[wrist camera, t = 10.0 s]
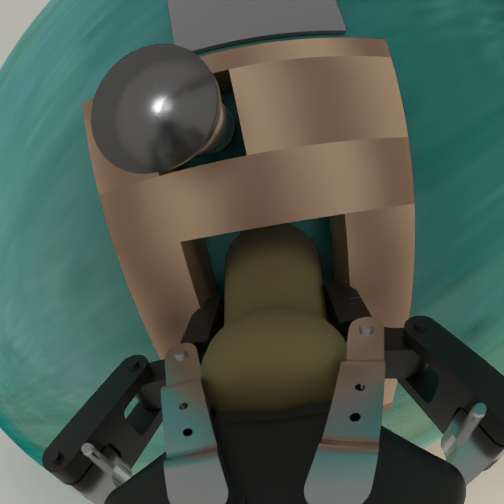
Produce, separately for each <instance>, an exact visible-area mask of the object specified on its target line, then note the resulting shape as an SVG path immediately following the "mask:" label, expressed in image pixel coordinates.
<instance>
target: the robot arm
mask: <svg viewBox="0 0 504 504" xmlns="http://www.w3.org/2000/svg"><path fill="white" fill-rule="evenodd" d="M322 285H323V291H324V296H325V306H326V315H327V322H329V323H330V324H331V325H332V326H333V327H335V328H336V329H337V331H338V332H339V333H340V334H341V335H342V336H343V338H344V340H345V342H346V346H347V359H342V360H341V364H340V369H339V374H338V378H337V383H336V387H335V391H334V396H333V400H331V401H326V402H321V403H315V404H309V405H303V406H300V407H297V408H294V409H291V410H288V411H285V412H282V413H279V414H275V415H266V414H258V413H250V412H223V413H216V412H215V410H214V407H213V405H212V403H211V401H210V398H209V396H208V394H207V390H206V387H205V384H204V381H203V378H202V375H201V368H200V366H201V363H202V360H203V357H204V355H205V353H206V351H207V348H208V346H209V344H210V342H211V340H212V339H213V338H214V337H215V335H216V334H217V333H218V331H220V330H221V329H222V328H223V327H224V300H223V298H222V297H214V298H207V299H206V301H205V304H204V306H203V309H198V310H197V311H196V312H195V313H194V314H193V315H192V316H191V318H190V320H189V323H188V325H187V329H186V330H185V333H184V335H183V337H182V340H181V342H180V344H177V345H175V346H173V347H171V348H170V349H169V350H168V351H167V352H166V354H165V359H163V360H159V361H155V362H151V363H149V362H148V360H147V358H146V357H145V356H142V355H134V356H131V357H128V358H127V359H125V360H124V361H123V362H122V363H121V364H120V365H119V366H118V367H117V368H116V369H115V371H114V372H113V373H112V374H111V375H110V376H109V377H108V378H107V379H106V381H105V382H104V383H103V384H102V385H101V386H100V387H99V388H98V390H97V391H96V392H95V393H94V394H93V395H92V396H91V398H90V399H89V400H88V401H87V402H86V403H85V404H84V406H83V407H82V408H81V409H80V410H79V411H78V412H77V414H76V415H75V416H74V417H73V418H72V419H71V420H70V422H69V423H68V424H67V425H66V426H65V427H64V429H63V430H62V431H61V432H60V433H59V434H58V436H57V437H56V438H55V439H54V440H53V441H52V443H51V444H50V445H49V446H48V447H47V449H46V450H45V452H44V454H43V457H42V462H43V465H44V467H45V468H46V469H47V470H48V471H49V472H50V473H52V474H53V475H54V476H56V477H57V478H58V479H59V480H60V481H61V482H62V483H64V484H65V485H66V486H68V487H69V488H71V489H72V490H74V491H75V492H76V493H78V494H80V495H82V496H84V497H86V498H87V499H89V500H90V501H92V502H93V503H95V504H464V501H465V497H466V485H468V484H469V482H471V481H472V480H473V479H474V478H476V477H477V476H478V475H479V474H480V473H481V472H482V471H485V470H487V469H489V468H490V467H491V466H492V465H493V464H494V463H495V462H497V461H498V459H500V457H502V456H503V455H504V376H503V375H502V374H501V373H499V372H498V371H497V370H496V369H495V368H494V367H492V366H491V365H490V364H489V363H488V362H486V361H485V360H484V359H483V358H481V357H480V356H479V355H478V354H477V353H475V352H474V351H473V350H472V349H470V348H469V347H468V346H467V345H465V344H464V343H463V342H462V341H460V340H459V339H458V338H456V337H455V336H454V335H453V334H451V333H450V332H449V331H447V330H446V329H445V328H443V327H442V326H441V325H440V324H438V323H437V322H436V321H434V320H433V319H431V318H429V317H426V316H414V317H411V318H409V319H408V320H407V321H406V322H405V324H404V328H388V327H384V325H383V323H382V322H381V321H380V320H378V319H376V318H373V317H372V316H371V314H370V312H369V310H368V309H367V307H366V305H365V303H364V302H363V300H362V298H361V297H360V295H359V293H358V291H357V290H356V289H354V288H352V287H351V286H346V287H342V285H341V283H340V282H339V280H338V278H334V279H328V280H323V281H322ZM385 379H397V381H398V382H399V383H400V384H401V386H402V387H403V388H404V389H405V390H406V391H407V392H408V394H409V395H410V396H411V397H412V398H413V399H414V400H415V402H416V403H417V404H418V405H419V406H420V407H421V409H422V410H423V411H424V412H425V413H426V414H427V416H428V417H429V418H430V419H431V420H432V422H433V423H434V424H435V425H436V426H437V427H438V429H439V430H440V431H441V432H442V433H443V436H442V439H441V447H442V450H443V452H444V455H445V456H446V461H445V460H443V459H441V458H439V457H437V456H435V455H433V454H431V453H429V452H428V451H426V450H424V449H422V448H420V447H418V446H416V445H415V444H413V443H411V442H409V441H407V440H406V439H404V438H402V437H400V436H399V435H397V434H395V433H393V432H392V431H390V430H388V429H387V428H385V427H383V426H382V425H381V421H382V411H383V399H384V384H385ZM135 396H136V398H137V399H138V401H139V402H138V404H137V405H136V406H135V408H134V409H133V410H132V412H131V413H130V414H129V416H128V417H127V418H126V419H125V417H124V411H125V409H126V407H127V406H128V404H129V403H130V402H131V401H132V399H133V398H134V397H135ZM162 421H163V428H164V439H165V448H166V452H164V453H163V454H162V455H161V456H159V457H158V458H157V459H155V460H154V461H153V462H152V463H150V464H149V465H148V466H146V467H145V468H144V469H142V470H141V471H140V472H138V473H137V474H135V475H134V476H133V477H131V475H132V471H131V468H132V467H133V465H134V464H135V462H136V461H137V459H138V458H139V456H140V455H141V453H142V452H143V450H144V449H145V447H146V446H147V444H148V443H149V441H150V439H151V438H152V436H153V435H154V433H155V432H156V430H157V429H158V427H159V426H160V424H161V423H162Z"/></svg>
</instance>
